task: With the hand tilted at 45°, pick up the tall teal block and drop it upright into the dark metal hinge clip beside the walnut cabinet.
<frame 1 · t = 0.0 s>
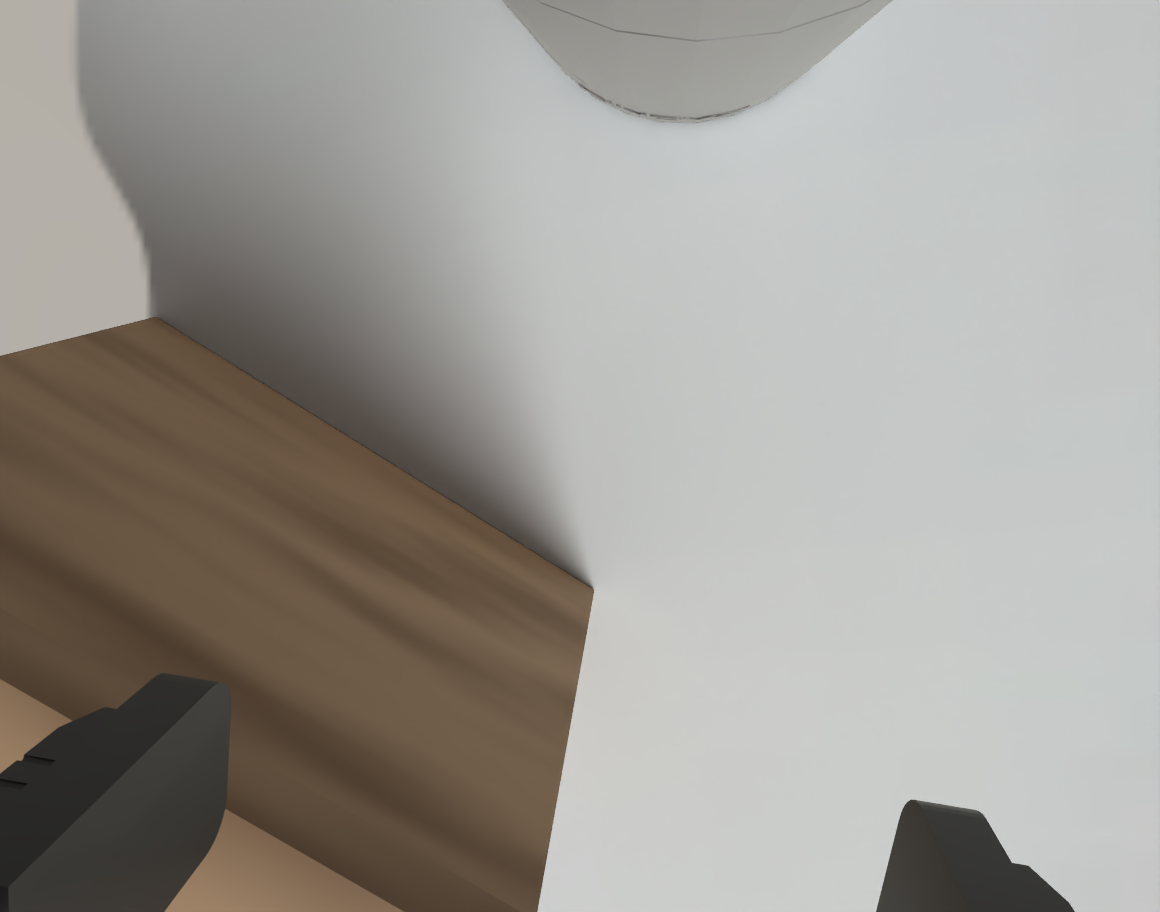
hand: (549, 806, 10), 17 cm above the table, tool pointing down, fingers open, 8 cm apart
hinge cabinet: (154, 839, 33), on the table
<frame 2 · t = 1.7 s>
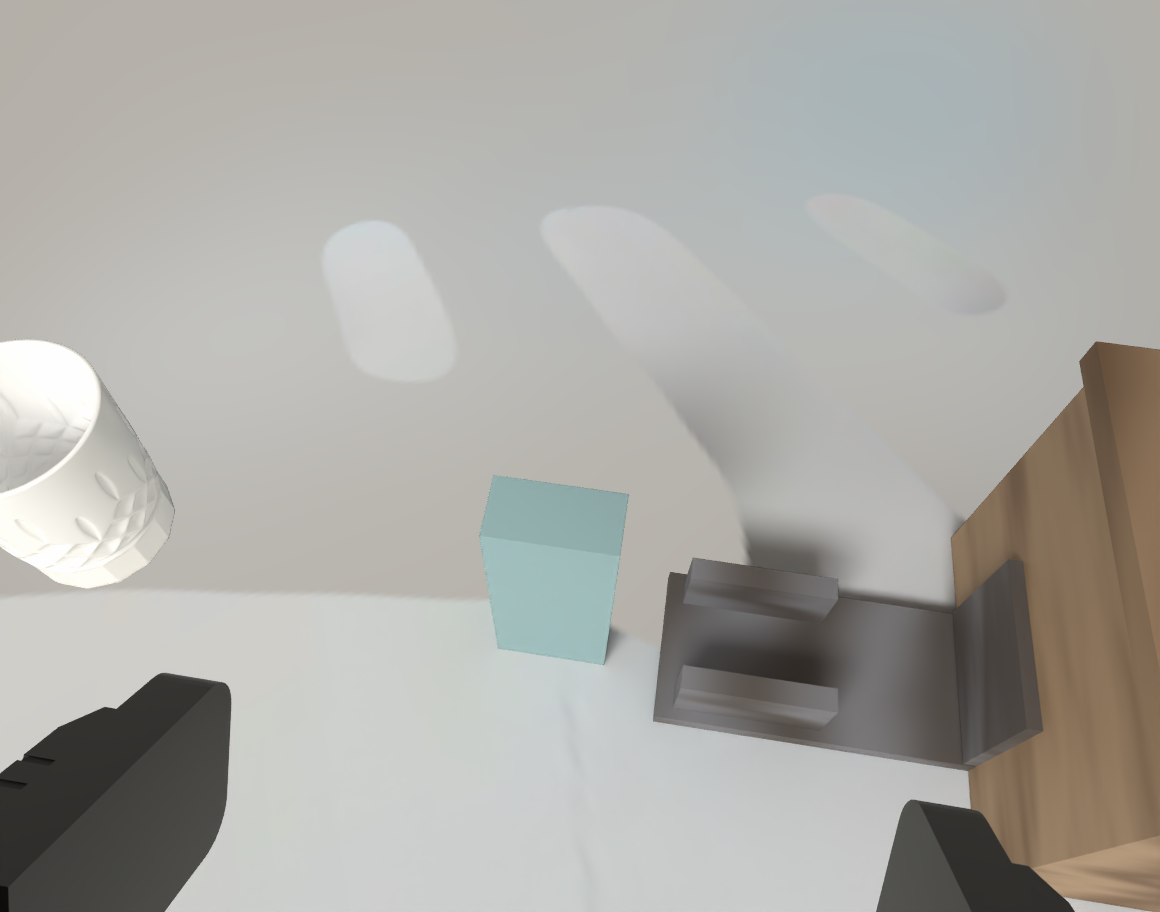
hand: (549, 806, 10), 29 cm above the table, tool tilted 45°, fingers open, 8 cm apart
white cup: (107, 528, 44), on the table
hinge cabinet: (746, 659, 41), on the table
tall teal block: (555, 631, 42), on the table
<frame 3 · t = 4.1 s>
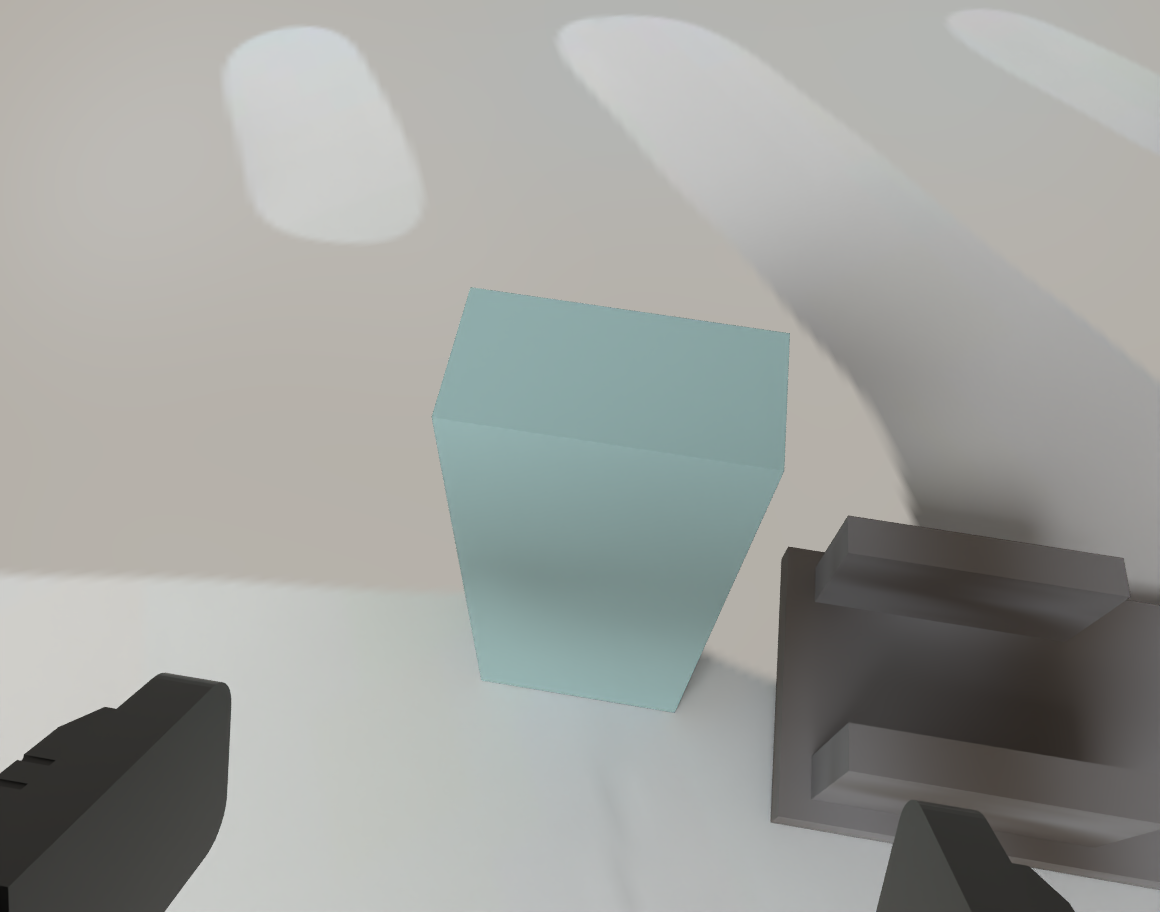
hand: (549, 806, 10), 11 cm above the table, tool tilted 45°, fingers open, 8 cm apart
hinge cabinet: (931, 705, 23), on the table
tall teal block: (584, 649, 23), on the table
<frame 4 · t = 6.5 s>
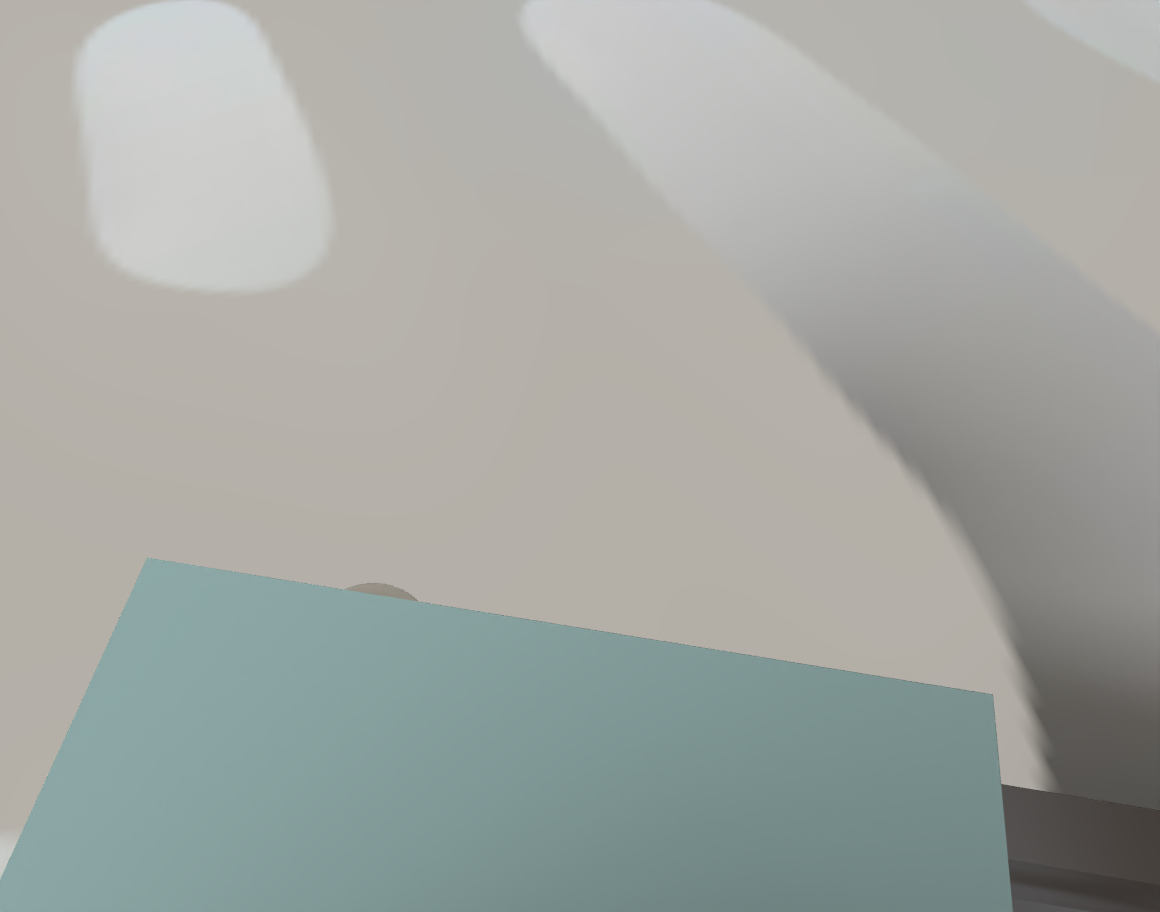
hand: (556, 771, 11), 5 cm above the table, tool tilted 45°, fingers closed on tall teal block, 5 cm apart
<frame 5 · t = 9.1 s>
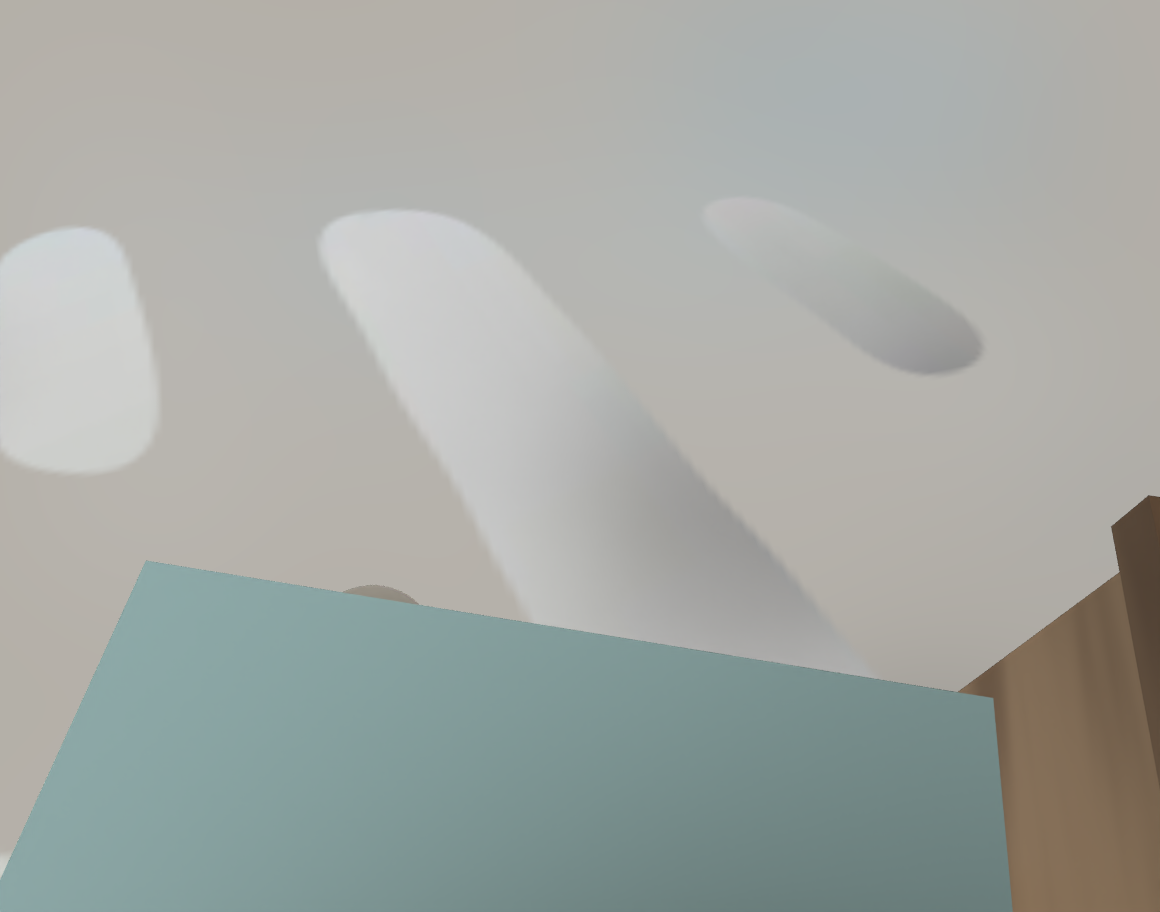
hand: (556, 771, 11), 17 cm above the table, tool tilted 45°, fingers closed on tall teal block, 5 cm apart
when the fingers open (8 cm above the table, at t = 11.7 s): tall teal block drops 1 cm, resting on hinge cabinet.
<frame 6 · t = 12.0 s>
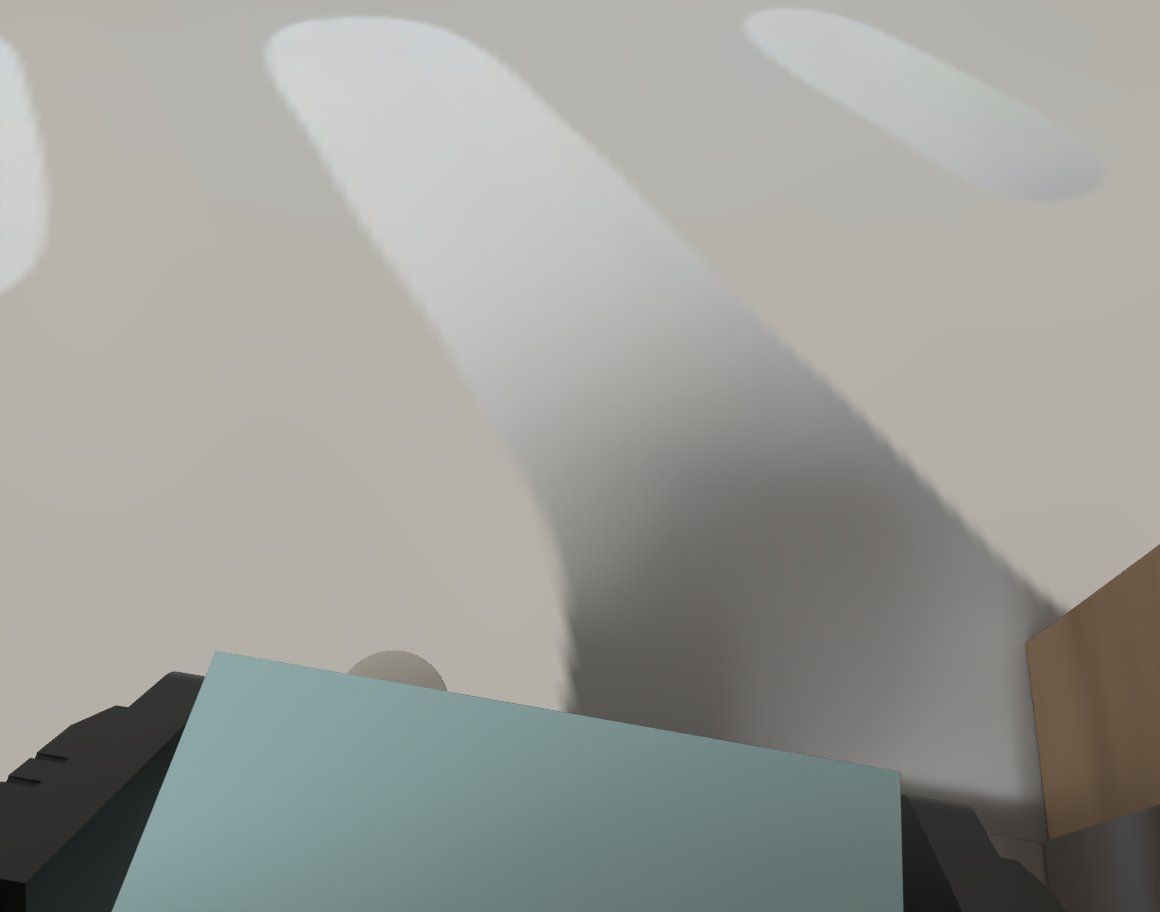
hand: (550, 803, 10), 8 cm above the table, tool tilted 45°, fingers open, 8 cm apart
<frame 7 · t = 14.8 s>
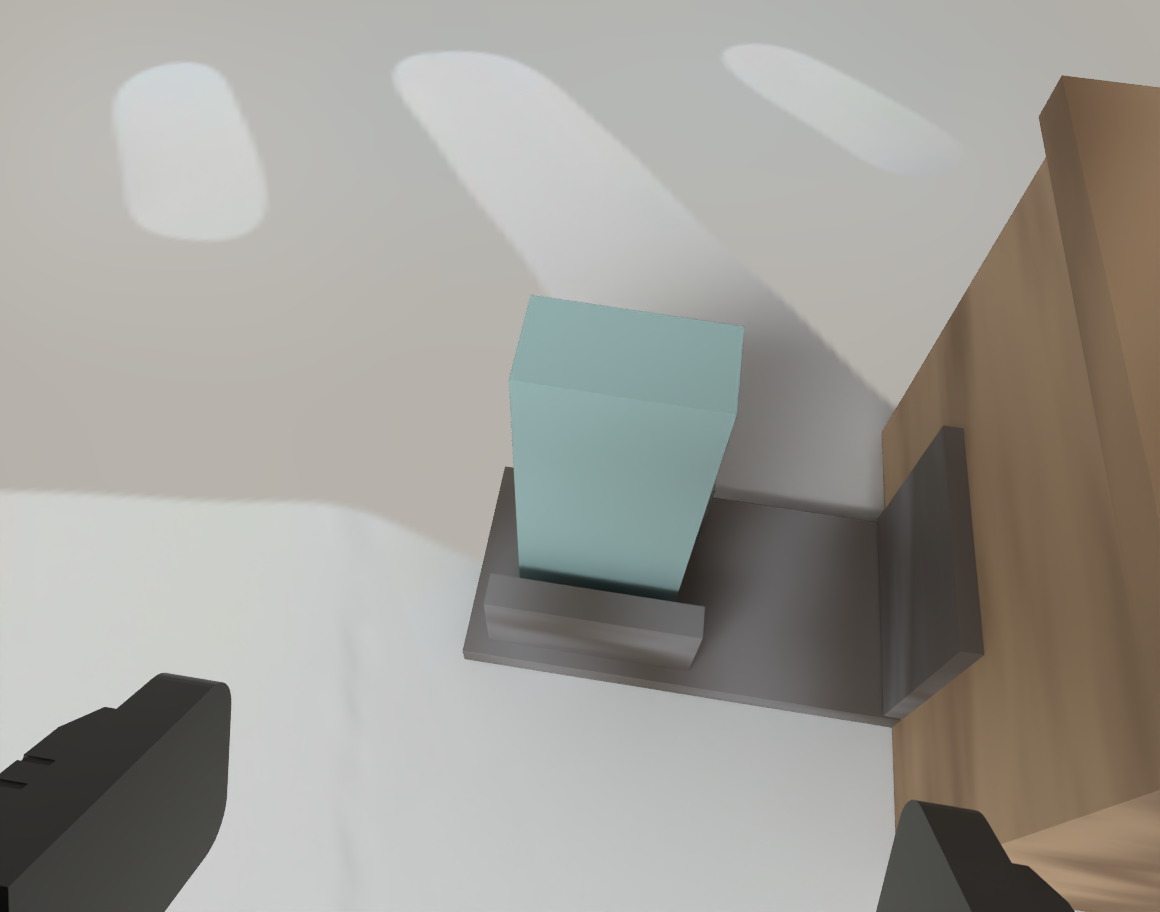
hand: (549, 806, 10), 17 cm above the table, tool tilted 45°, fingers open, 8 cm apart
hinge cabinet: (599, 580, 31), on the table
tall teal block: (600, 572, 30), point 1 cm above the table, touching hinge cabinet
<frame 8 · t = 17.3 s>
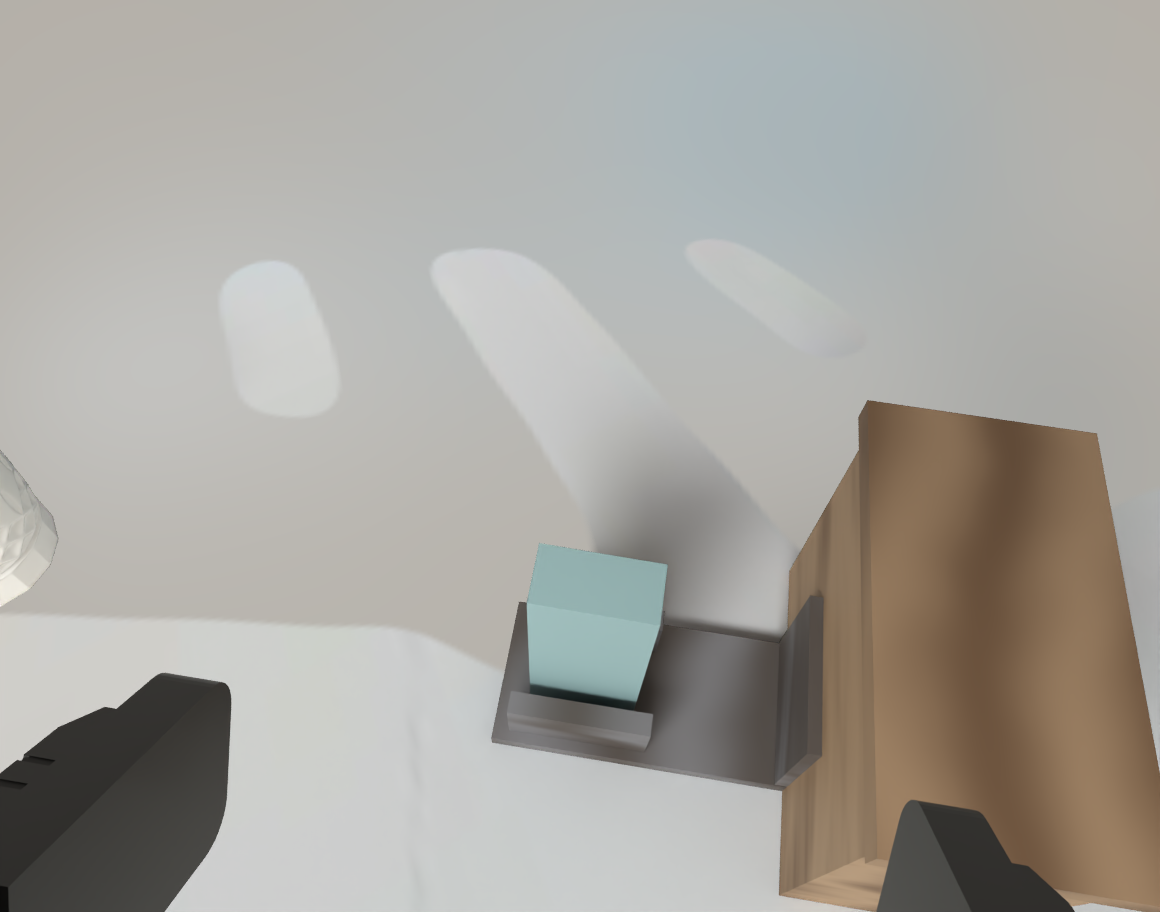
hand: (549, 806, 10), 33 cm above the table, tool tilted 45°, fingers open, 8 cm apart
hinge cabinet: (585, 685, 44), on the table
tall teal block: (585, 681, 44), point 1 cm above the table, touching hinge cabinet
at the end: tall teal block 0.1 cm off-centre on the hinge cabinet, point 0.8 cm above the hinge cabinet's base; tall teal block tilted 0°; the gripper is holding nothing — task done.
